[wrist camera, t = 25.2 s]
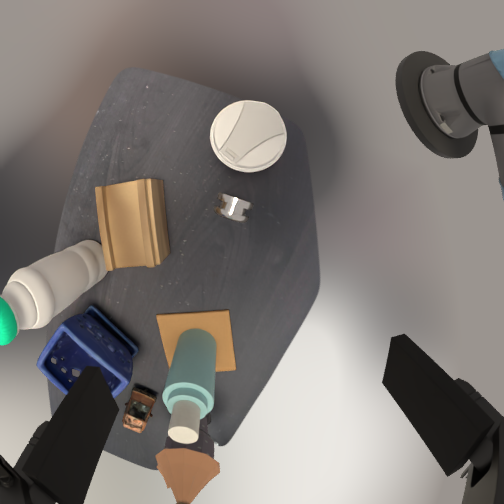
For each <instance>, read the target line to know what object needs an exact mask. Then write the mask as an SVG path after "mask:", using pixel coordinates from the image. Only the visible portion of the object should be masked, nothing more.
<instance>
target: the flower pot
mask: <svg viewBox="0 0 504 504" xmlns="http://www.w3.org/2000/svg"><path fill="white" fill-rule="evenodd" d="M138 351H139V349H138V347H137V346H136V345H135V344H134V343H133V342H132V341H131V340H130V339H129V338H127V337H126V336H125V335H124V334H123V333H122V332H121V331H120V330H119V329H118V328H117V327H116V326H115V325H114V324H113V323H111V322H110V321H109V320H108V319H107V318H106V317H105V316H104V315H103V314H102V313H101V312H100V311H99V310H98V309H97V308H96V307H95V306H93V305H91V306H89V307H88V308H87V310H86V311H85V312H84V314H78V315H75V316H73V317H70V318H69V319H67V320H65V321H64V322H63V323H62V324H61V325H60V326H59V327H58V329H57V330H56V332H55V333H54V334H53V336H52V337H51V339H50V340H49V342H48V343H47V345H46V346H45V348H44V349H43V351H42V353H41V355H40V356H39V358H38V361H37V367H38V368H39V369H40V370H41V372H42V373H43V374H44V375H45V376H46V377H47V378H48V379H49V380H50V381H51V382H52V383H53V384H54V385H55V386H56V387H58V388H59V389H60V390H61V391H62V392H63V393H64V394H66V395H67V393H68V392H69V390H70V389H71V387H72V386H73V384H74V383H75V381H76V380H77V378H78V377H75V376H73V375H72V369H75V370H78V371H80V374H81V373H82V371H83V370H84V368H85V367H86V366H96V367H100V369H101V372H102V374H103V376H104V378H105V381H106V383H107V385H108V387H109V389H110V391H111V394H112V396H113V398H115V397H116V396H117V395H119V394H120V393H121V392H122V391H123V390H124V389H125V388H126V386H127V385H128V384H129V382H130V380H131V376H132V370H133V362H132V358H133V357H134V356H135V355H136V354H137V353H138ZM51 358H55V359H56V360H57V362H56V364H54V363H52V362H51ZM61 358H63V360H62V359H61ZM62 368H64V369H65V370H66V373H64V372H62V371H61V369H62ZM69 380H71V381H72V382H69Z"/></svg>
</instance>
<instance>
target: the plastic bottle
mask: <svg viewBox="0 0 504 504" xmlns="http://www.w3.org/2000/svg"><path fill="white" fill-rule="evenodd" d="M215 366H216V341H215V339H214V337H213V336H212V335H211V334H210V333H208V332H207V331H205V330H202V329H189V330H186V331H184V332H183V333H182V334H181V335H180V337H179V339H178V342H177V345H176V349H175V352H174V356H173V359H172V362H171V366H170V369H169V373H168V377H167V380H166V384H165V387H164V391H163V401H164V403H165V405H166V406H167V409H168V411H169V412H170V413H171V419H170V424H169V429H168V435H169V436H170V438H171V439H173V440H174V441H176V442H179V443H184V444H189V443H194V442H196V441H197V440H198V436H199V424H200V419H202V418H204V417H205V415H206V414H207V413H209V412H210V411H211V410H212V408H213V406H214V389H215Z"/></svg>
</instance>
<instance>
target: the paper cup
mask: <svg viewBox="0 0 504 504" xmlns="http://www.w3.org/2000/svg"><path fill="white" fill-rule="evenodd" d="M210 140H211V145H212V148H213V150H214V152H215V154H216V156H217V157H218V158H219V159H220V160H221V161H222V162H223V163H224V164H225V165H227V166H228V167H230V168H232V169H234V170H238V171H242V172H256V171H260V170H263V169H266V168H268V167H269V166H271V165H272V164H274V163H275V162H276V161H277V160H278V159H279V157H280V156H281V155H282V153H283V151H284V149H285V145H286V140H287V133H286V128H285V125H284V122H283V121H282V119H281V117H280V115H279V113H278V112H277V111H276V110H275V109H274V108H273V107H271V106H270V105H268V104H266V103H264V102H257V101H248V100H245V101H239V102H235V103H233V104H231V105H228V106H227V107H225V108H224V109H223V110H222V111H221V112H220V113H219V114H218V115H217V116H216V118H215V120H214V121H213V124H212V127H211V132H210Z"/></svg>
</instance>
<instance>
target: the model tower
mask: <svg viewBox="0 0 504 504" xmlns="http://www.w3.org/2000/svg"><path fill="white" fill-rule="evenodd" d="M210 422H211V414H210V413H207V414H206V415H205V417H204V418H202V419H200V424H199V436H198V440H197V441H196V442H194V443H189V444H184V443H179V442H176V441H174V440H173V439H171V438H170V436H168V437H167V439H166V443H165V448H164V450H162V451H161V452H160V453H158V454H157V455H156V456H155V457H156V459H157V462H158V466H157V468H158V469H159V471H160V473H161V474H162V475H163V477H164V480H165V482H166V484H167V488H170V487H171V489H172V491H173V494H174V496H175V499H176V501H177V503H176V504H190V503H191V502H192V501H193V500H194V498H195V497H196V496H197V495H198V493H199V492H200V491H201V489H203V488H204V486H205V485H206V484H207V483H208V482H209V481H210V480H211V479H212V478H214V477H215V476H216V475H217V474H219V473H220V468H219V467H220V466H219V463H218V462H217V461H216V460H214V442H213V440H212V439H211V437H210V435H209V434H208V427H207V425H208V424H209V423H210Z"/></svg>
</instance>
